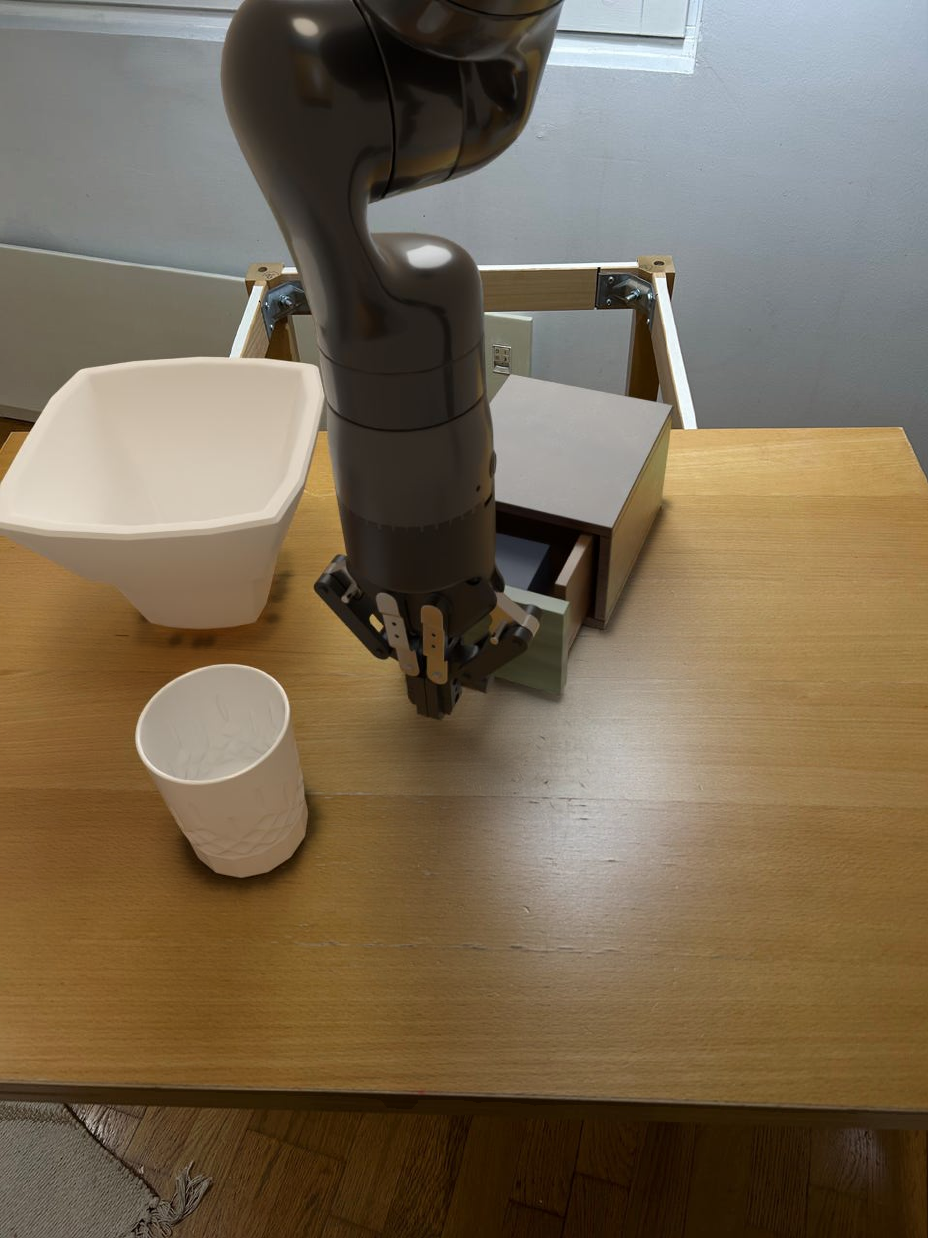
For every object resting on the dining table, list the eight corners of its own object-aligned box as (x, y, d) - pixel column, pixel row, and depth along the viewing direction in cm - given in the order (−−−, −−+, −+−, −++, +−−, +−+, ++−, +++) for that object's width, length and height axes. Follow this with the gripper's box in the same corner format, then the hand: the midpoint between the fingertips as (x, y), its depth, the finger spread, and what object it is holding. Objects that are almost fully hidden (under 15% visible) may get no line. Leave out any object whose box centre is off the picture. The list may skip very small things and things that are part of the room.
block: (548, 595, 67) (550, 544, 64) (526, 641, 64) (526, 590, 61) (486, 580, 69) (484, 529, 65) (461, 624, 66) (458, 574, 62)
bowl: (357, 509, 78) (334, 352, 68) (326, 696, 64) (291, 534, 54) (127, 512, 79) (70, 357, 69) (47, 697, 65) (-37, 538, 55)
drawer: (533, 754, 59) (534, 674, 54) (366, 701, 63) (352, 621, 58) (622, 562, 71) (630, 481, 66) (477, 526, 74) (474, 447, 69)
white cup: (235, 755, 61) (197, 646, 54) (343, 799, 59) (318, 690, 52) (155, 856, 56) (102, 751, 49) (269, 909, 54) (230, 806, 47)
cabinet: (604, 630, 68) (612, 528, 61) (437, 585, 71) (429, 485, 65) (661, 504, 77) (674, 404, 70) (511, 470, 81) (510, 373, 74)
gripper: (250, 487, 45) (308, 722, 58) (518, 552, 41) (518, 790, 54) (327, 402, 50) (365, 636, 63) (574, 453, 46) (563, 692, 59)
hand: (436, 707), depth 58 cm, fingers closed
